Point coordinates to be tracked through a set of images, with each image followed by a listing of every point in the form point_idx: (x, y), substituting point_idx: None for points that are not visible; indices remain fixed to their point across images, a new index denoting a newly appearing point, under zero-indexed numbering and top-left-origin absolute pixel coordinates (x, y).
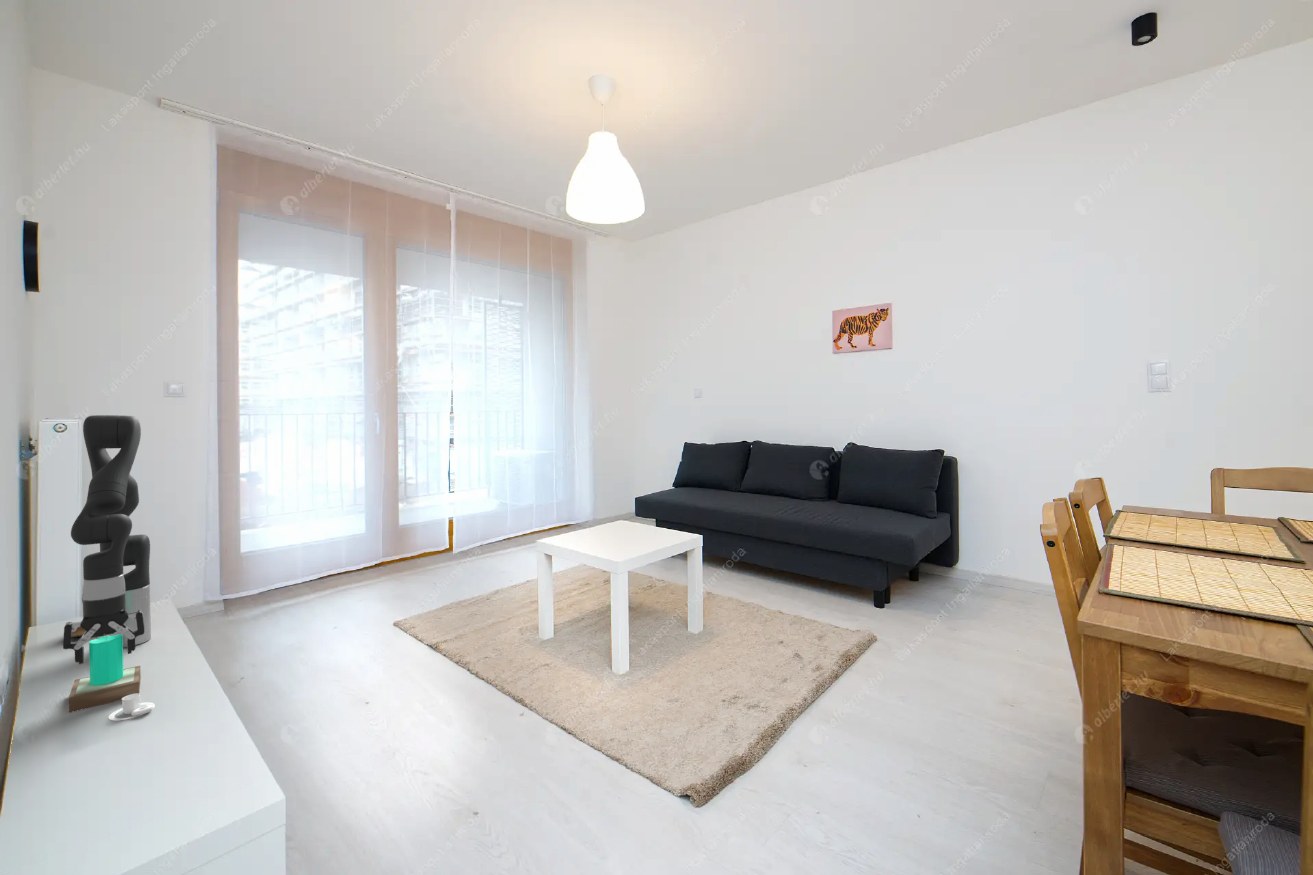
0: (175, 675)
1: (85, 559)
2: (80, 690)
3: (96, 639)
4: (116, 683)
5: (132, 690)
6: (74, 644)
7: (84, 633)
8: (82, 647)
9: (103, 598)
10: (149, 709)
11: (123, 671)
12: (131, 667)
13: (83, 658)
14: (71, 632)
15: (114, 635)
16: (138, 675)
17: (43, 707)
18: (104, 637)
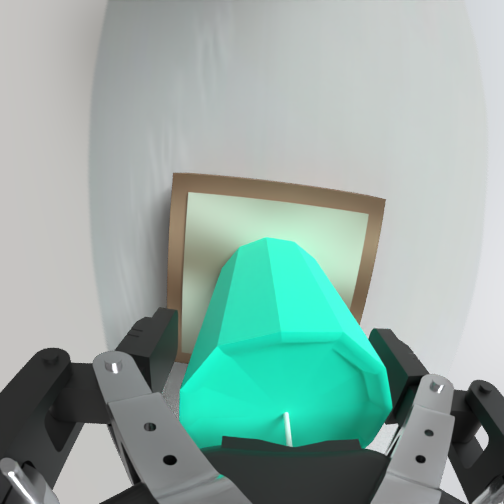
0: (435, 259)
1: None
2: (193, 328)
3: (224, 352)
4: None
5: None
6: (98, 419)
7: (114, 420)
8: (147, 377)
9: None
10: None
11: (329, 234)
12: (358, 195)
13: (172, 336)
14: (31, 460)
15: (356, 352)
16: (359, 315)
17: (119, 233)
18: (285, 341)
